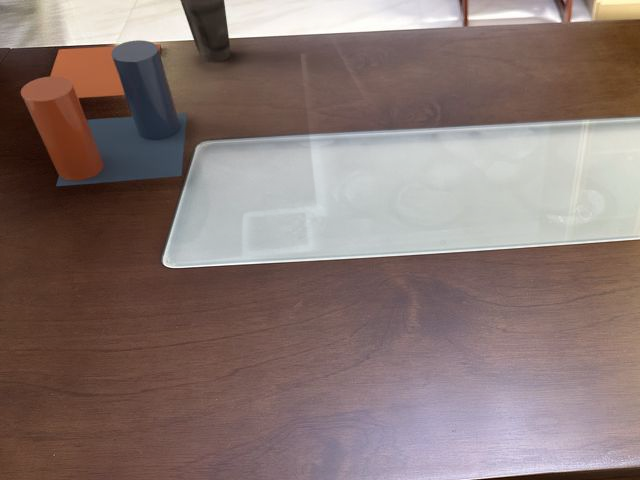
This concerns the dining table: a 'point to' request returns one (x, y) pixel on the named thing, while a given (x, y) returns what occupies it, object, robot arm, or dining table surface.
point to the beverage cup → (208, 28)
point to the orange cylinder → (63, 127)
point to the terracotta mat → (90, 71)
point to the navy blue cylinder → (146, 89)
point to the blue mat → (133, 152)
